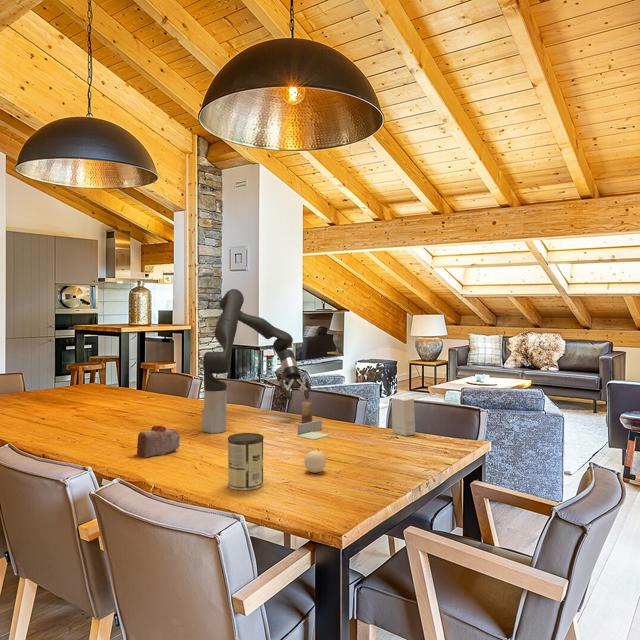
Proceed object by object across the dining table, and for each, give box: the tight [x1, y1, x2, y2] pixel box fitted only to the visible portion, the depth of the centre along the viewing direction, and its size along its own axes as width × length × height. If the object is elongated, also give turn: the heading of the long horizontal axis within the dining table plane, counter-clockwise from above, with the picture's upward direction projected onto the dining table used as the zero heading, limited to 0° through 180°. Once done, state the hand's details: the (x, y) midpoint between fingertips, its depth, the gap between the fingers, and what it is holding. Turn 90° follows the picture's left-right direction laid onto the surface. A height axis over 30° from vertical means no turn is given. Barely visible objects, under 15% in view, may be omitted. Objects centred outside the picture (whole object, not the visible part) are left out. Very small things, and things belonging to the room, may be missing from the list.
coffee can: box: [227, 432, 264, 491], centre depth 157 cm, size 10×10×14 cm
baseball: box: [303, 450, 327, 474], centre depth 171 cm, size 7×7×7 cm
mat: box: [296, 431, 331, 441], centre depth 220 cm, size 10×9×1 cm
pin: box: [301, 400, 313, 424], centre depth 236 cm, size 5×5×11 cm
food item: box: [136, 425, 181, 458], centre depth 192 cm, size 14×8×10 cm, turn 139°
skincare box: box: [391, 396, 416, 437], centre depth 225 cm, size 8×6×15 cm
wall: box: [297, 419, 323, 435], centre depth 227 cm, size 14×1×4 cm, turn 140°
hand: (298, 398), depth 244 cm, fingers open, 8 cm apart
